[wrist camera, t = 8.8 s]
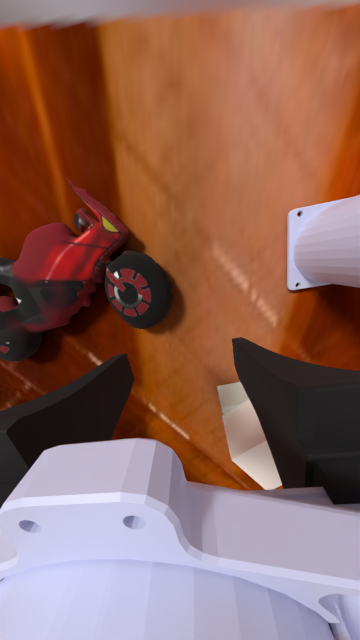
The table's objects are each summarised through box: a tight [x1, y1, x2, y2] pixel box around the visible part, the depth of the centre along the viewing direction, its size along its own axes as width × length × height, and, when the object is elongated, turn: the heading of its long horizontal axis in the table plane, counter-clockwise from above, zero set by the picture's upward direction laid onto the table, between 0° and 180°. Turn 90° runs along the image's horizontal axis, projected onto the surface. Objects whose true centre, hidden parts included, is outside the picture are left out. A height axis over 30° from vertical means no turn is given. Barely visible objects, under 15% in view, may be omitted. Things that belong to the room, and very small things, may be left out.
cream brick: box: [222, 399, 282, 490], centre depth 19 cm, size 4×6×5 cm
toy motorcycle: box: [0, 178, 173, 361], centre depth 19 cm, size 25×5×16 cm
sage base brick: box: [217, 382, 249, 415], centre depth 23 cm, size 6×6×4 cm
